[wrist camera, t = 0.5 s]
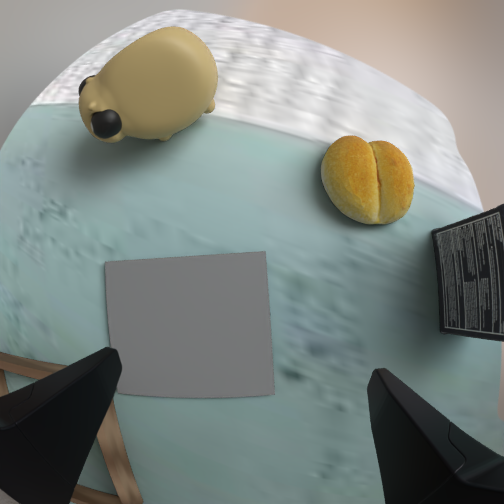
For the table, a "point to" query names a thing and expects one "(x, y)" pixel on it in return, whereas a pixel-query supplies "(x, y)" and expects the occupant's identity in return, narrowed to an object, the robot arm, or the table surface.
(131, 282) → the mat
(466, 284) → the small box
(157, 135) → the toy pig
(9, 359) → the wooden picture frame
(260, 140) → the table surface
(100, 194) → the table surface
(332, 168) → the yellow rounded lump
